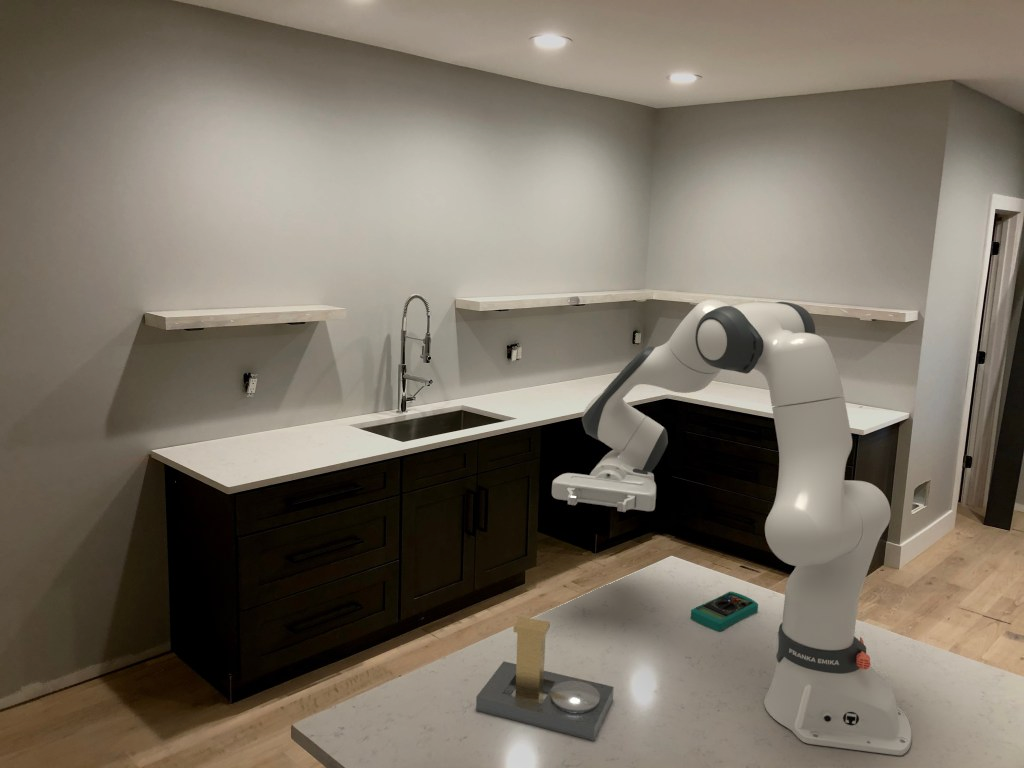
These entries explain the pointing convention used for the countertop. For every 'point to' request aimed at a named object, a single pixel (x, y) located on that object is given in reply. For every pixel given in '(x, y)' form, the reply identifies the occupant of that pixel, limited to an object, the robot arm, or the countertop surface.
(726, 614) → the digital multimeter
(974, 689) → the countertop surface
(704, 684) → the countertop surface
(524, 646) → the wedge pin
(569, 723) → the gray socket block
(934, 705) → the countertop surface
